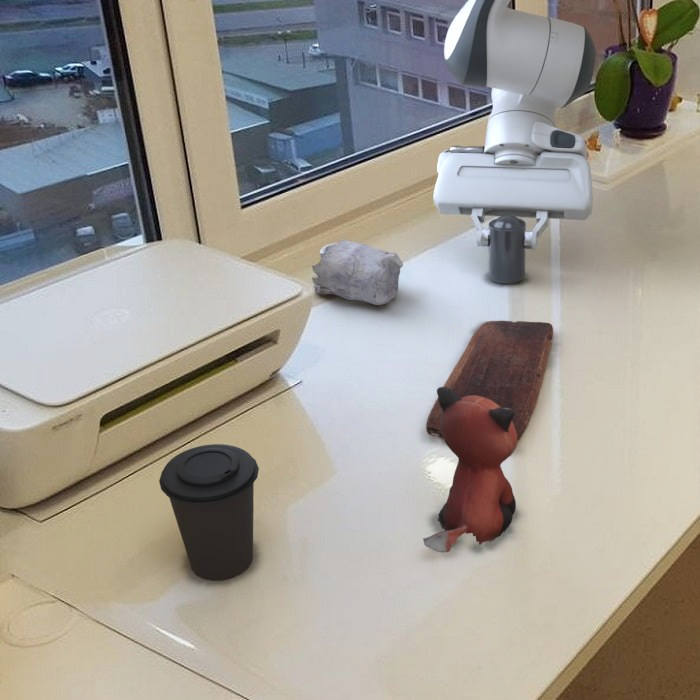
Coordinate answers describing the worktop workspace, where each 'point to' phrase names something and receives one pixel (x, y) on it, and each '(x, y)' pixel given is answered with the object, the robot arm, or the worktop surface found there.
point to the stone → (357, 272)
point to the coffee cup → (213, 507)
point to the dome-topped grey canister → (507, 249)
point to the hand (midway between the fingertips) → (506, 246)
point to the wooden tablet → (501, 369)
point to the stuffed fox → (475, 469)
